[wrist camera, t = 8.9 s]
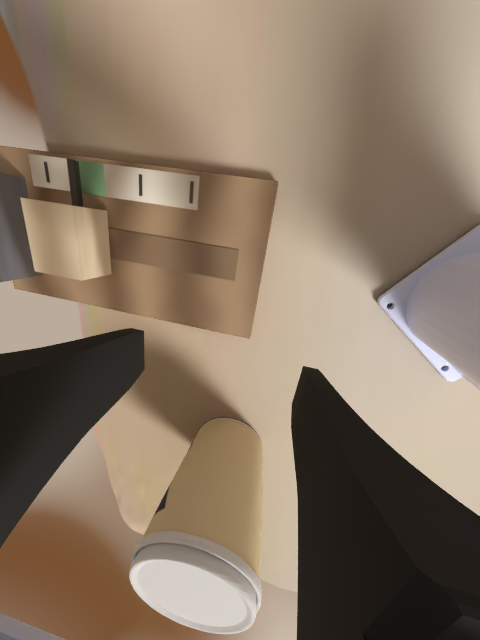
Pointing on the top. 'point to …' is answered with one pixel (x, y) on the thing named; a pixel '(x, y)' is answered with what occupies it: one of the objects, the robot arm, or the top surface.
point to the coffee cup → (207, 534)
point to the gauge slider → (68, 234)
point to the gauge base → (148, 237)
